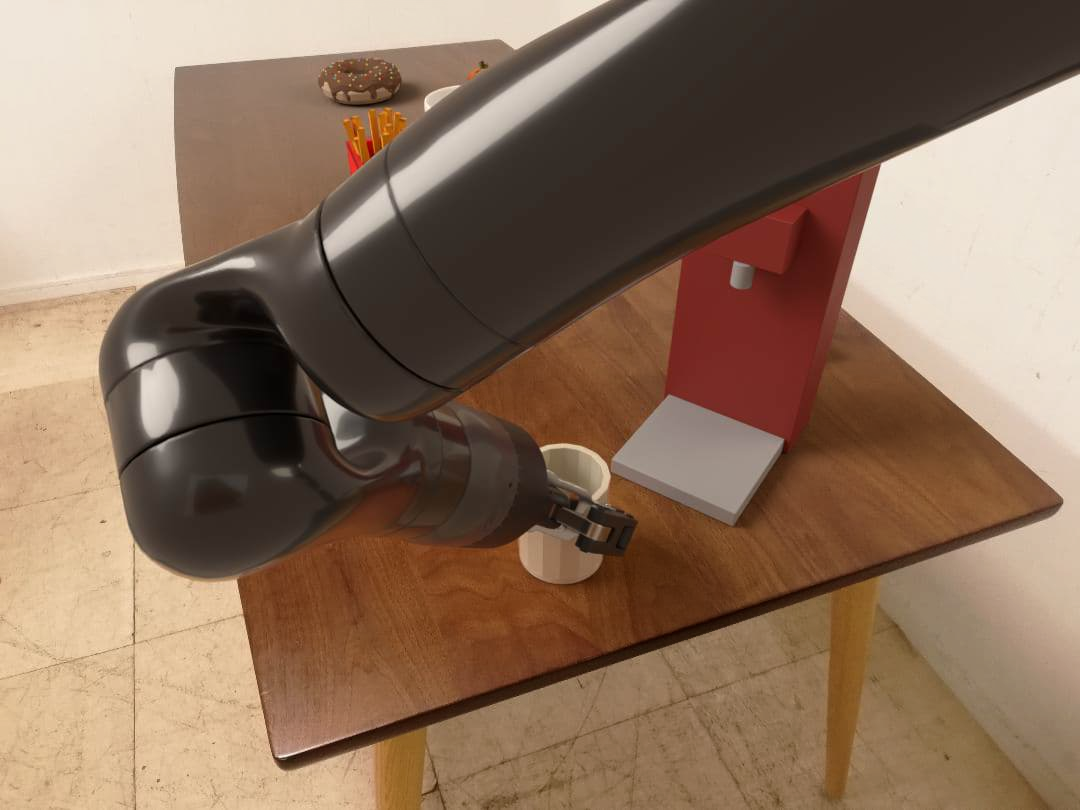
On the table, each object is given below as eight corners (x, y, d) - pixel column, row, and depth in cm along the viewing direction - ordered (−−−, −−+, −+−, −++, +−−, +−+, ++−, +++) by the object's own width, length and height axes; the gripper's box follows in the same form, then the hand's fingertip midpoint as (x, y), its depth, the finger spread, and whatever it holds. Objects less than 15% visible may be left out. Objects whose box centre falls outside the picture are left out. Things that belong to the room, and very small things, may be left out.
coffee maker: (739, 530, 63) (817, 204, 46) (603, 469, 69) (628, 155, 52) (811, 419, 74) (895, 120, 57) (688, 373, 79) (732, 86, 62)
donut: (347, 115, 133) (343, 83, 130) (307, 93, 141) (302, 63, 138) (421, 96, 140) (419, 66, 137) (379, 76, 148) (376, 47, 145)
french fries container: (408, 212, 106) (398, 102, 97) (425, 244, 99) (415, 130, 90) (354, 219, 104) (338, 109, 95) (367, 253, 97) (351, 137, 88)
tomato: (500, 71, 146) (505, 48, 139) (515, 106, 145) (520, 84, 138) (458, 84, 144) (460, 60, 137) (472, 119, 144) (475, 97, 136)
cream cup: (610, 527, 64) (617, 451, 59) (594, 592, 59) (600, 515, 54) (530, 513, 65) (530, 437, 60) (508, 575, 60) (507, 498, 55)
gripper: (595, 461, 40) (674, 490, 55) (379, 365, 46) (502, 414, 61) (535, 601, 40) (630, 592, 55) (326, 486, 46) (462, 506, 61)
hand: (562, 498), depth 58 cm, fingers open, 8 cm apart
